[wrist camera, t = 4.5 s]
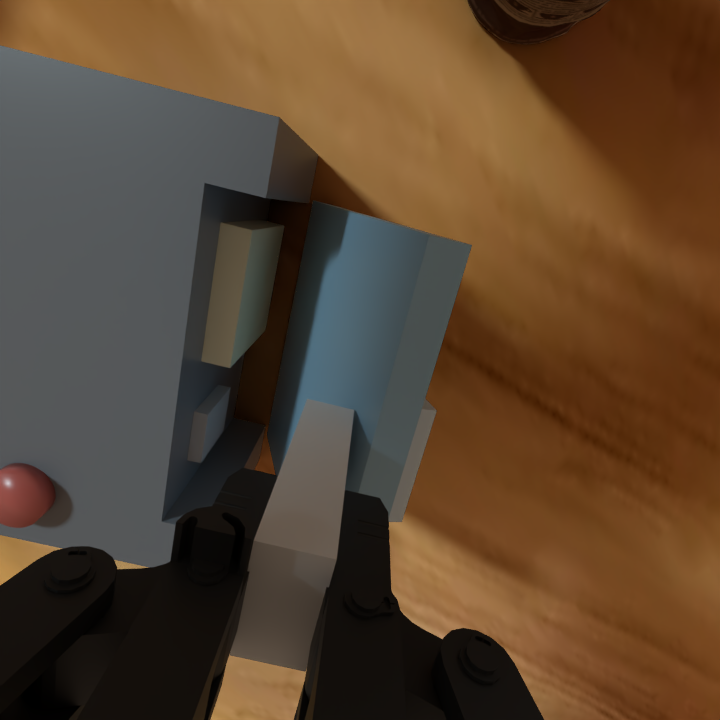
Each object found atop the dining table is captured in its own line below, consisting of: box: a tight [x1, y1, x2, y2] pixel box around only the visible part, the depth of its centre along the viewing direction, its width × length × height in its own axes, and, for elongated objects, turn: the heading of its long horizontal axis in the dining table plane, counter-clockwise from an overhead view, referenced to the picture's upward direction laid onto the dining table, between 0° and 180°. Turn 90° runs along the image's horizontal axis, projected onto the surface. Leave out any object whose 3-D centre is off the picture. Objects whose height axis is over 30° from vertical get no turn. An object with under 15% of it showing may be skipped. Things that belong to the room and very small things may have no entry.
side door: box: [267, 200, 472, 522], centre depth 20 cm, size 14×2×14 cm, turn 166°
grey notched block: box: [0, 46, 318, 567], centre depth 21 cm, size 19×11×11 cm, turn 166°
